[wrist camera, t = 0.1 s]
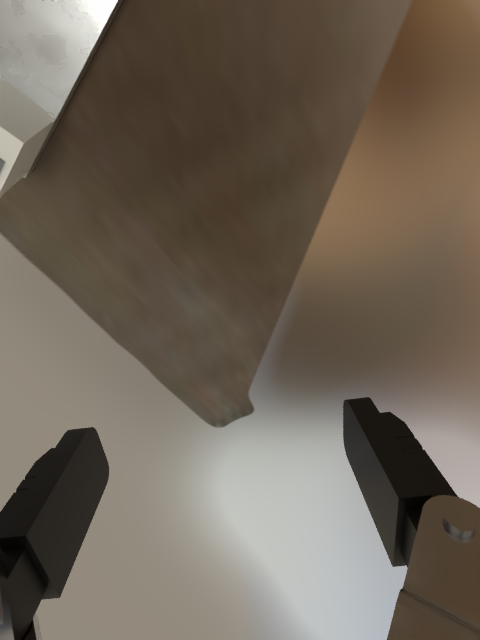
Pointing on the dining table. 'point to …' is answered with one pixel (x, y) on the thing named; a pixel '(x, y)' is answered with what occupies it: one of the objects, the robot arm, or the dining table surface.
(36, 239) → the dining table surface
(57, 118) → the rail
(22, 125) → the mounted modules
